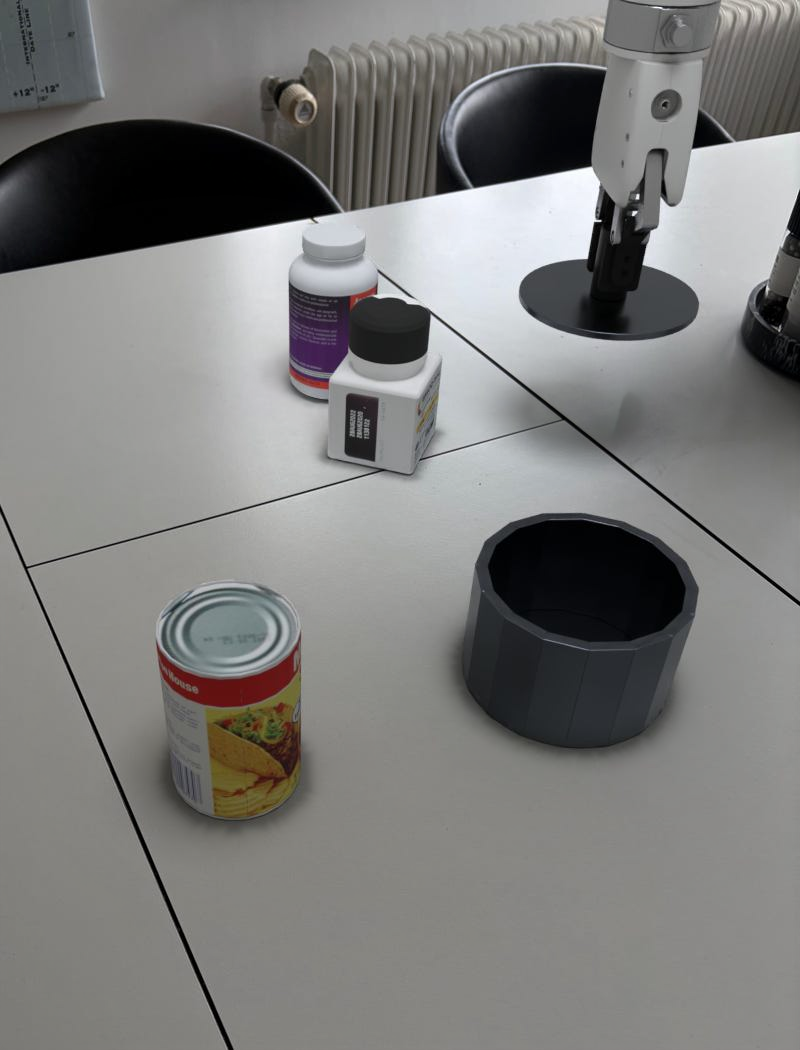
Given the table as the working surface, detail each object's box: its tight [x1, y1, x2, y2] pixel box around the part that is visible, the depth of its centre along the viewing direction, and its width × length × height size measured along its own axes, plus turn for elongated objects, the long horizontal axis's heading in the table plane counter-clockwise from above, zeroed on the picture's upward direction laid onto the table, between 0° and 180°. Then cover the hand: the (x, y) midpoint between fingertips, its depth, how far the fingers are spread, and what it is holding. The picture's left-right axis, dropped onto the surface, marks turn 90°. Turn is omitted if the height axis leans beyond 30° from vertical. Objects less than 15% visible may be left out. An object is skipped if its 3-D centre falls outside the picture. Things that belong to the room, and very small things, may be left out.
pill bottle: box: [288, 221, 379, 401], centre depth 95 cm, size 8×8×14 cm
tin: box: [461, 512, 700, 749], centre depth 68 cm, size 14×14×8 cm
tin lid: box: [518, 220, 700, 342], centre depth 85 cm, size 15×15×7 cm
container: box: [327, 293, 443, 475], centre depth 87 cm, size 8×8×13 cm
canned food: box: [154, 578, 302, 821], centre depth 60 cm, size 8×8×12 cm
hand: (611, 278), depth 85 cm, fingers closed on tin lid, 3 cm apart
